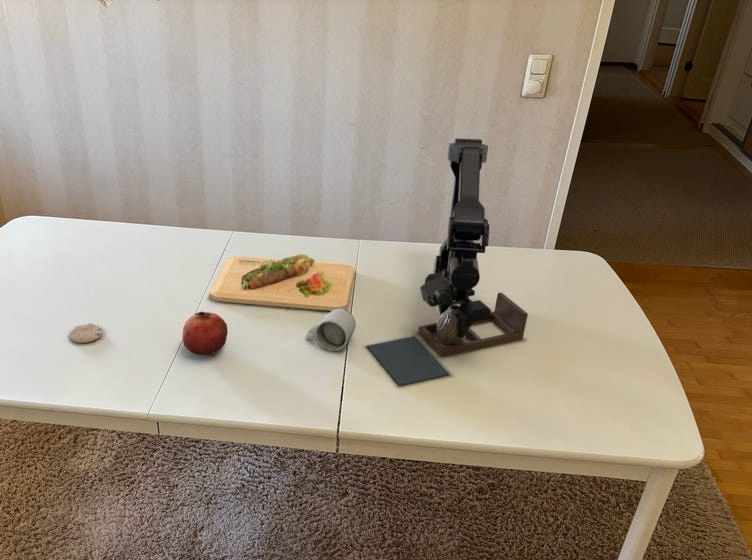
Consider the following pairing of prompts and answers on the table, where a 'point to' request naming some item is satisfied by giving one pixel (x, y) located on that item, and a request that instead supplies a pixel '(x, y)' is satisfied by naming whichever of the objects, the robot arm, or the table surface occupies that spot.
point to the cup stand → (504, 317)
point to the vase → (449, 326)
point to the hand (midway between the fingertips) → (451, 328)
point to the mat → (407, 361)
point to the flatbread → (85, 333)
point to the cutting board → (284, 282)
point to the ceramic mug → (334, 330)
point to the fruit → (204, 333)
